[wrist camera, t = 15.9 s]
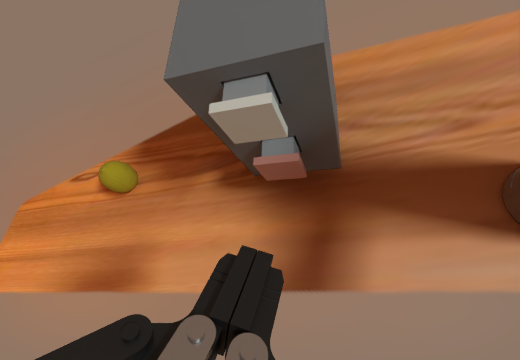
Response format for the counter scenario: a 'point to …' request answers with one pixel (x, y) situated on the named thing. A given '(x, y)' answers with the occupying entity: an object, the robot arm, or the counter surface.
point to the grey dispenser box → (260, 68)
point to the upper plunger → (250, 110)
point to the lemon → (118, 176)
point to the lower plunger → (280, 159)
